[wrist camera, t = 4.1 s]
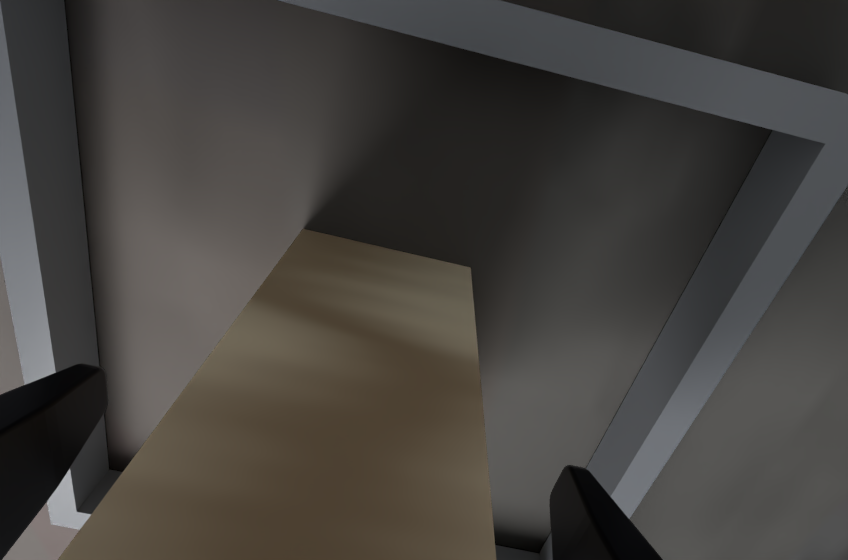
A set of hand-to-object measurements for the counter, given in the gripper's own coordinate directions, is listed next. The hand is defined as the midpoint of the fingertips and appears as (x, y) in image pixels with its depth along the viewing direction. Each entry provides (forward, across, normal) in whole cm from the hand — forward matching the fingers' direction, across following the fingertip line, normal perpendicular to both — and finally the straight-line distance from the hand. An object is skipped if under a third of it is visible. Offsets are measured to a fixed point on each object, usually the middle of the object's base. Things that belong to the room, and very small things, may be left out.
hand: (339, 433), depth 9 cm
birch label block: (+4, 0, 0) cm, 4 cm away
